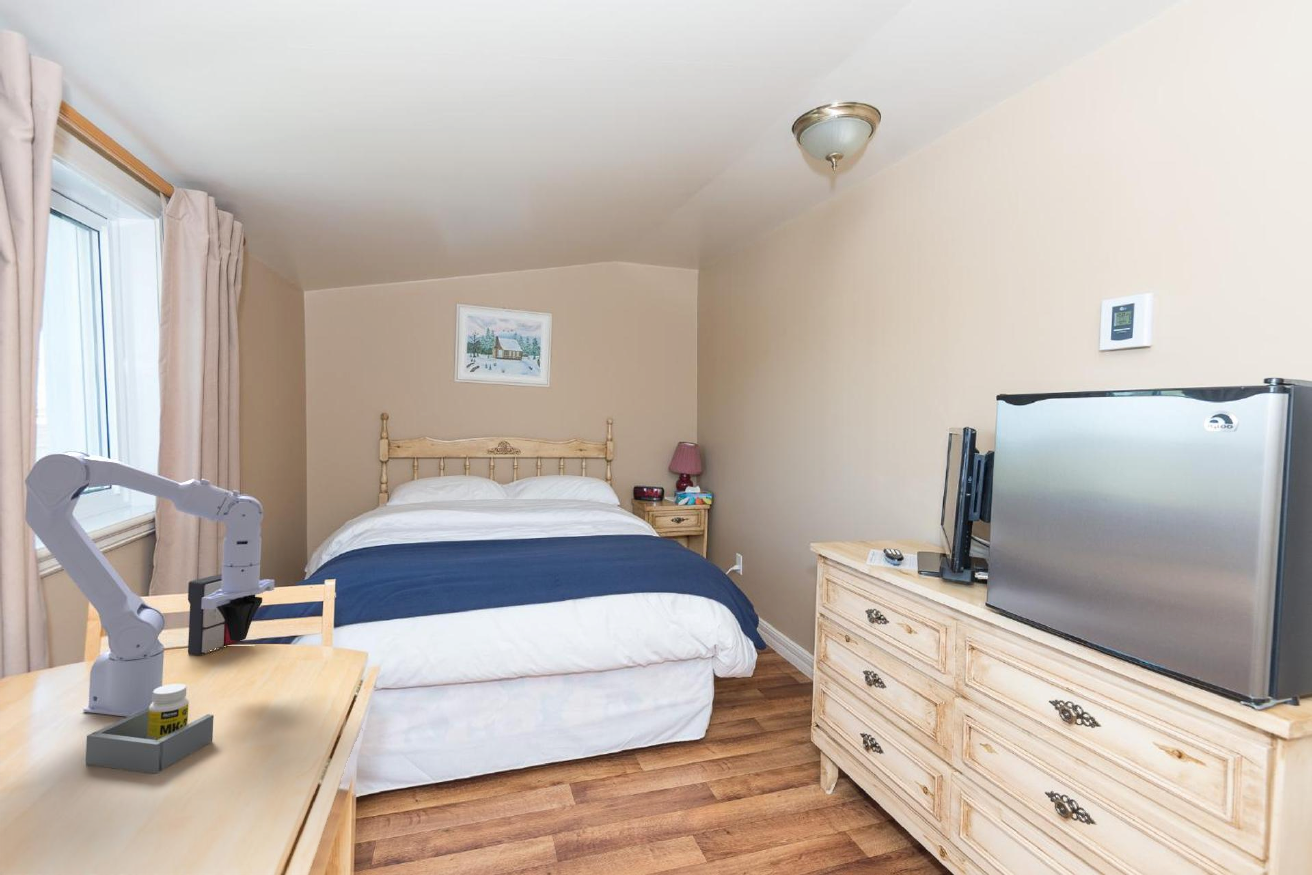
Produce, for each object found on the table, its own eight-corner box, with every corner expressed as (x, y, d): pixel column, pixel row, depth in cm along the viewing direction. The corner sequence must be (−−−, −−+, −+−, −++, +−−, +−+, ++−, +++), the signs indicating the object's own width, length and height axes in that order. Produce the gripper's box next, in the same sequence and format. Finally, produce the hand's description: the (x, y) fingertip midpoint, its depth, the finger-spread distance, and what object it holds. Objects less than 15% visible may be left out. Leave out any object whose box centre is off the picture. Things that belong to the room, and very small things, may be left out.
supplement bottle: (157, 755, 92) (160, 697, 92) (139, 747, 94) (142, 690, 94) (193, 741, 96) (196, 686, 96) (175, 734, 98) (178, 679, 98)
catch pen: (85, 764, 89) (86, 735, 89) (148, 733, 98) (149, 707, 98) (155, 773, 87) (156, 744, 87) (212, 741, 97) (213, 714, 97)
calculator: (202, 656, 130) (205, 583, 130) (184, 654, 131) (188, 581, 131) (246, 640, 141) (249, 572, 141) (230, 638, 142) (233, 570, 142)
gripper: (229, 573, 107) (225, 654, 107) (290, 557, 121) (286, 629, 121) (191, 570, 108) (188, 650, 108) (256, 555, 122) (253, 626, 122)
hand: (238, 639), depth 115 cm, fingers closed
